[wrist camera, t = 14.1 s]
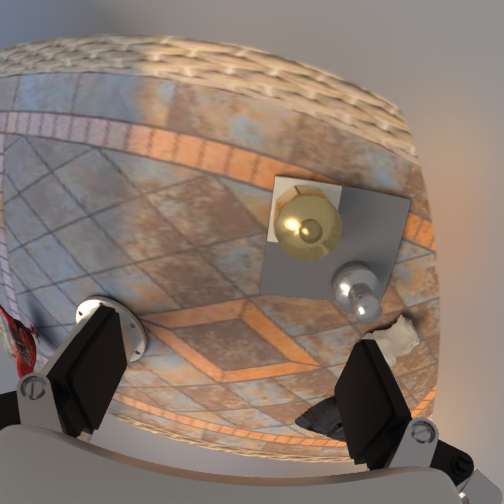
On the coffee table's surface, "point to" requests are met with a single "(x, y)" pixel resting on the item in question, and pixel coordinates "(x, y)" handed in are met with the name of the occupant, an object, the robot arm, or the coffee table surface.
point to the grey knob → (357, 291)
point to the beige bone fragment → (396, 339)
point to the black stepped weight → (323, 419)
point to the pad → (286, 183)
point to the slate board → (342, 246)
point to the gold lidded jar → (306, 223)
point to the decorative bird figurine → (22, 344)
